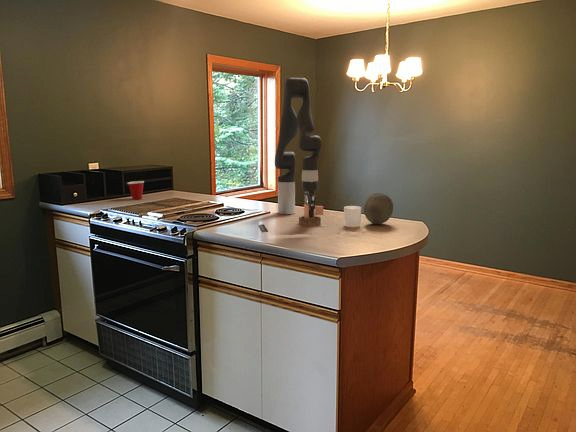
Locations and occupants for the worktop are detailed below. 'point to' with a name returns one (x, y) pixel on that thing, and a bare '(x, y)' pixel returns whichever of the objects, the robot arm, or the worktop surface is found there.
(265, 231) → the charcoal mat
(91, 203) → the worktop surface
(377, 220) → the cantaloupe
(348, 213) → the white cup
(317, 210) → the peach ice lolly
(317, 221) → the walnut holder
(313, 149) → the robot arm
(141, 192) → the plastic cup
